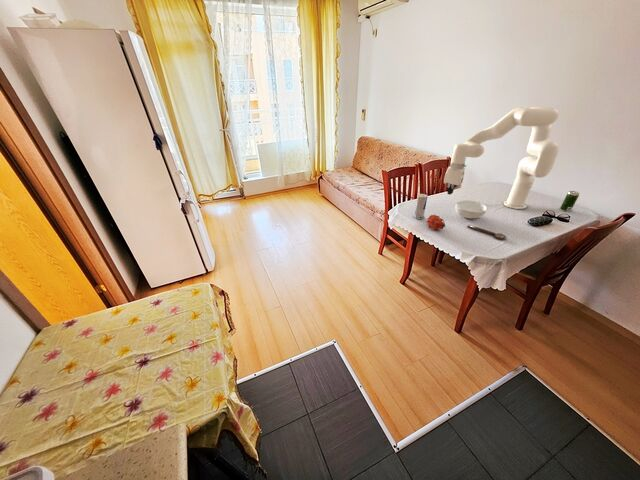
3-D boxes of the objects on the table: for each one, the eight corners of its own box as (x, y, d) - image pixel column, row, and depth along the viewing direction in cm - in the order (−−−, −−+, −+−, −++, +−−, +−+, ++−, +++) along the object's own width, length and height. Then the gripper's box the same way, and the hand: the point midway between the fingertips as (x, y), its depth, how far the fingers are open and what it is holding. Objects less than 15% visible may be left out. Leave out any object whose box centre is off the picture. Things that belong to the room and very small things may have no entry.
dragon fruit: (425, 225, 155) (441, 236, 147) (420, 221, 149) (436, 232, 141) (435, 214, 152) (451, 224, 144) (429, 209, 146) (446, 220, 138)
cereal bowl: (449, 216, 159) (452, 206, 155) (458, 208, 169) (461, 198, 165) (479, 224, 149) (482, 214, 145) (486, 214, 159) (490, 204, 155)
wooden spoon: (465, 228, 146) (466, 225, 145) (469, 225, 149) (470, 222, 148) (503, 241, 133) (504, 238, 133) (506, 237, 136) (507, 234, 135)
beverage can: (424, 219, 158) (428, 197, 150) (414, 219, 159) (418, 196, 151) (422, 215, 163) (426, 193, 155) (413, 215, 164) (417, 193, 156)
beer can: (572, 211, 157) (582, 193, 150) (564, 212, 157) (573, 194, 150) (565, 208, 161) (574, 190, 155) (557, 208, 161) (566, 191, 155)
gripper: (472, 166, 150) (464, 195, 160) (447, 161, 159) (441, 189, 169) (466, 169, 146) (458, 198, 155) (441, 164, 155) (435, 192, 165)
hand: (449, 193), depth 162 cm, fingers closed
